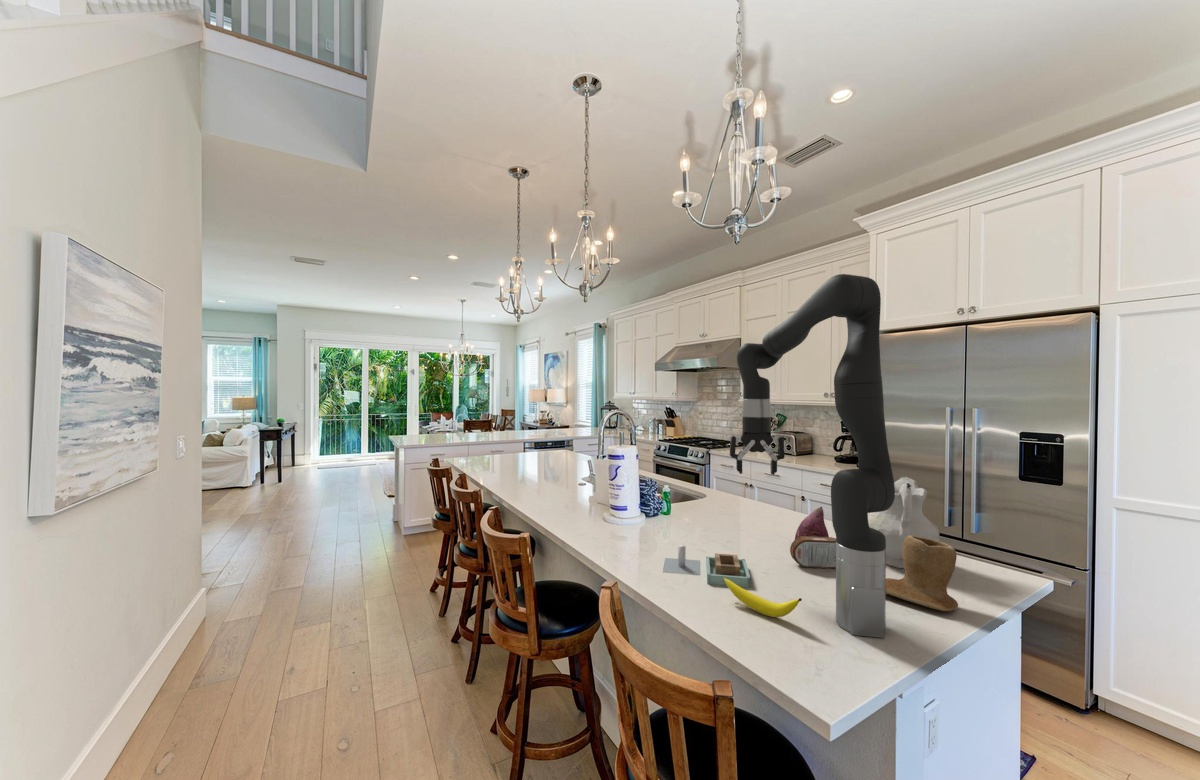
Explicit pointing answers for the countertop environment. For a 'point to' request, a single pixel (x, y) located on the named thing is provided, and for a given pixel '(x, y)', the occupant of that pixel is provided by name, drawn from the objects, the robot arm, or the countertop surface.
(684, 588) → the countertop surface
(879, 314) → the robot arm
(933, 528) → the ceramic pitcher
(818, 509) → the vegetable
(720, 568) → the stepped wooden block
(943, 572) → the brown felt boot
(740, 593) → the banana
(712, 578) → the tray
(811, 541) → the tin
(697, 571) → the grey plate with post
